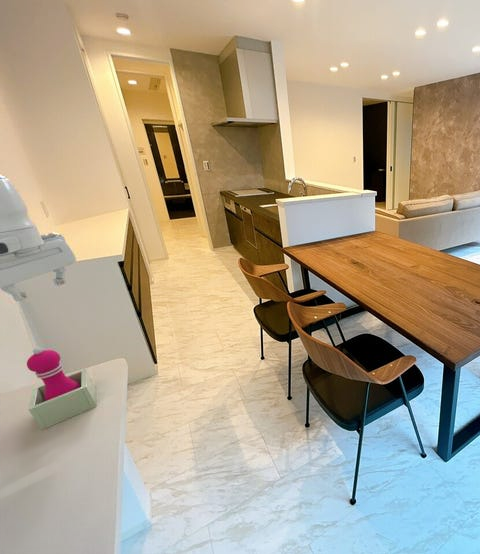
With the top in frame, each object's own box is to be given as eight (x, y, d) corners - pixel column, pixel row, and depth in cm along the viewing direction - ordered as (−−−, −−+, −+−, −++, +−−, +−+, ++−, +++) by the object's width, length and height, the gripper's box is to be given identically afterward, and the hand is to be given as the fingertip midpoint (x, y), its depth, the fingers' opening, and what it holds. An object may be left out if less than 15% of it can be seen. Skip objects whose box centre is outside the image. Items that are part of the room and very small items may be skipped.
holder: (41, 430, 77) (28, 409, 74) (45, 406, 84) (33, 387, 82) (96, 406, 83) (86, 386, 81) (95, 386, 91) (85, 368, 88)
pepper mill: (87, 393, 89) (55, 336, 81) (88, 405, 84) (55, 347, 76) (53, 407, 84) (17, 348, 76) (52, 421, 79) (14, 360, 72)
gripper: (50, 231, 83) (71, 276, 88) (-52, 253, 64) (-17, 310, 69) (70, 230, 82) (90, 276, 88) (-28, 253, 64) (6, 310, 69)
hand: (42, 291), depth 78 cm, fingers open, 8 cm apart
